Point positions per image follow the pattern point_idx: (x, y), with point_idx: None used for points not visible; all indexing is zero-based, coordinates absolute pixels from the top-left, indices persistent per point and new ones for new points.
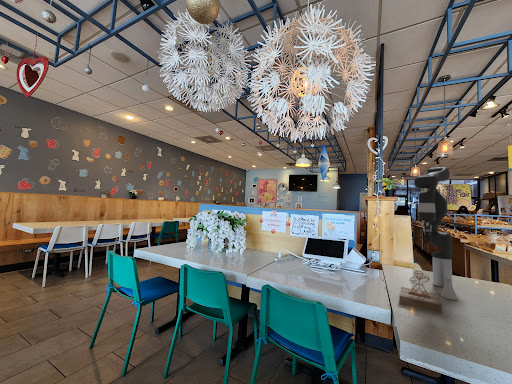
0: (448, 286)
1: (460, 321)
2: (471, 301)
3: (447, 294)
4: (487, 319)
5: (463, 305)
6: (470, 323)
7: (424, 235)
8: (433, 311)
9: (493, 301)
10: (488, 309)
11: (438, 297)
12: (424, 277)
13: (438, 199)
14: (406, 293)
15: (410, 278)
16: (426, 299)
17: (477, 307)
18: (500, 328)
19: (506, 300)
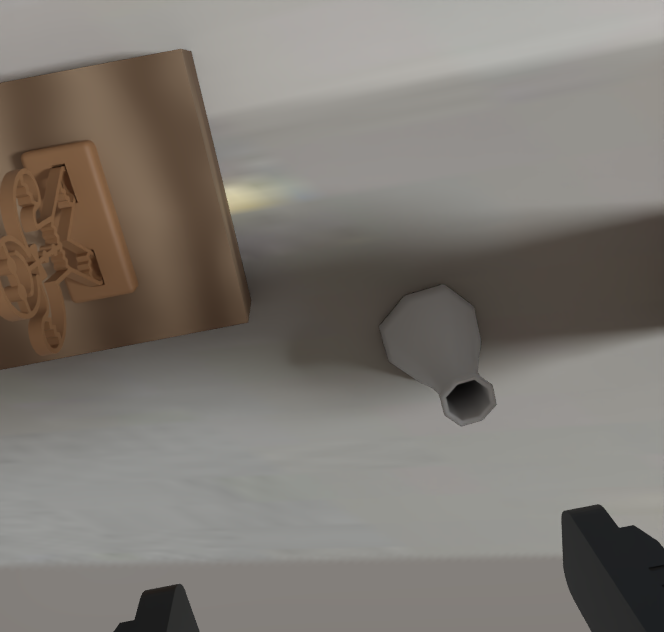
0: (428, 373)
1: (8, 423)
2: (461, 433)
3: (395, 343)
4: (185, 505)
5: (329, 409)
6: (31, 458)
7: (627, 601)
8: None
9: None
10: (374, 500)
11: (160, 332)
12: (33, 316)
13: None
14: (11, 136)
15: (2, 183)
16: None
17: (360, 462)
18: (105, 545)
19: None
